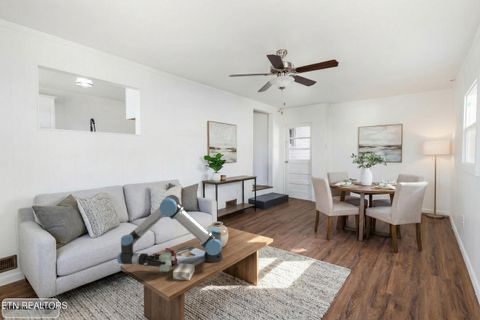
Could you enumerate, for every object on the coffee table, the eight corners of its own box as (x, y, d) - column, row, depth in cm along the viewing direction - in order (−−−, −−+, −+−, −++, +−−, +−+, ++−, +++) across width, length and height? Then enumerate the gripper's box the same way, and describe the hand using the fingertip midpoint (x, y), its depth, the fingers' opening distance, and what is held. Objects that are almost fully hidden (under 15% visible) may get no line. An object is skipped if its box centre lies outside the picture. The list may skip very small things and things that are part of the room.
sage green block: (171, 267, 162) (171, 252, 162) (167, 271, 156) (167, 256, 156) (163, 266, 163) (163, 252, 163) (159, 270, 157) (159, 256, 157)
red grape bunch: (171, 267, 168) (171, 253, 168) (162, 262, 176) (161, 248, 176) (179, 264, 174) (179, 250, 173) (170, 259, 182) (169, 246, 181)
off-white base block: (194, 271, 163) (194, 264, 163) (189, 280, 152) (189, 272, 152) (179, 270, 164) (179, 263, 164) (173, 279, 154) (173, 271, 153)
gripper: (147, 258, 171) (178, 259, 168) (132, 271, 152) (166, 273, 150) (147, 247, 171) (177, 249, 168) (132, 260, 152) (166, 261, 149)
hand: (172, 260), depth 159 cm, fingers closed on sage green block, 6 cm apart
